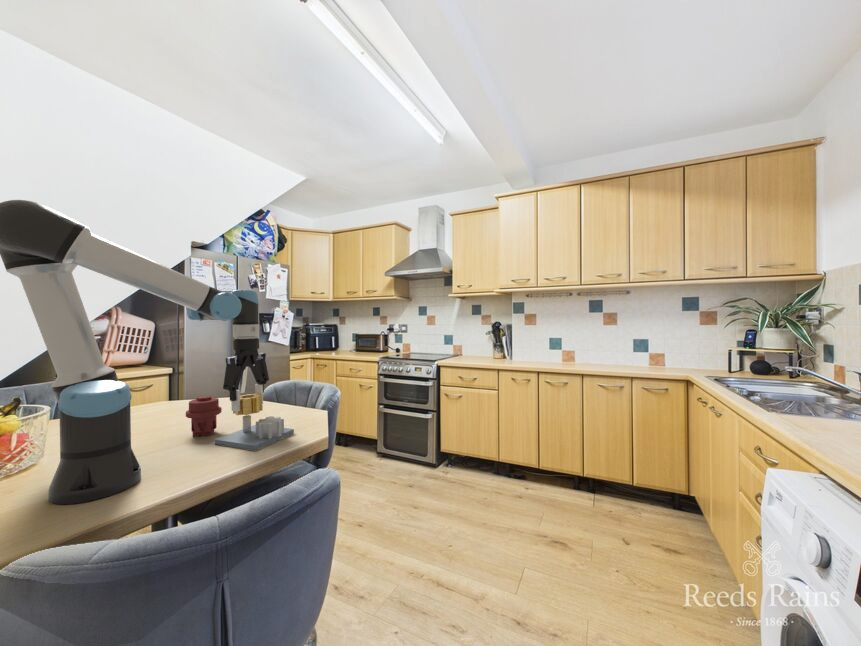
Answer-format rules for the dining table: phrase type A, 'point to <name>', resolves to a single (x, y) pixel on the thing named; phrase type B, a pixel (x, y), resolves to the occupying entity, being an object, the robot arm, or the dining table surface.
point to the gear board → (256, 434)
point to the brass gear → (250, 404)
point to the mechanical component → (203, 415)
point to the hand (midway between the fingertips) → (247, 406)
